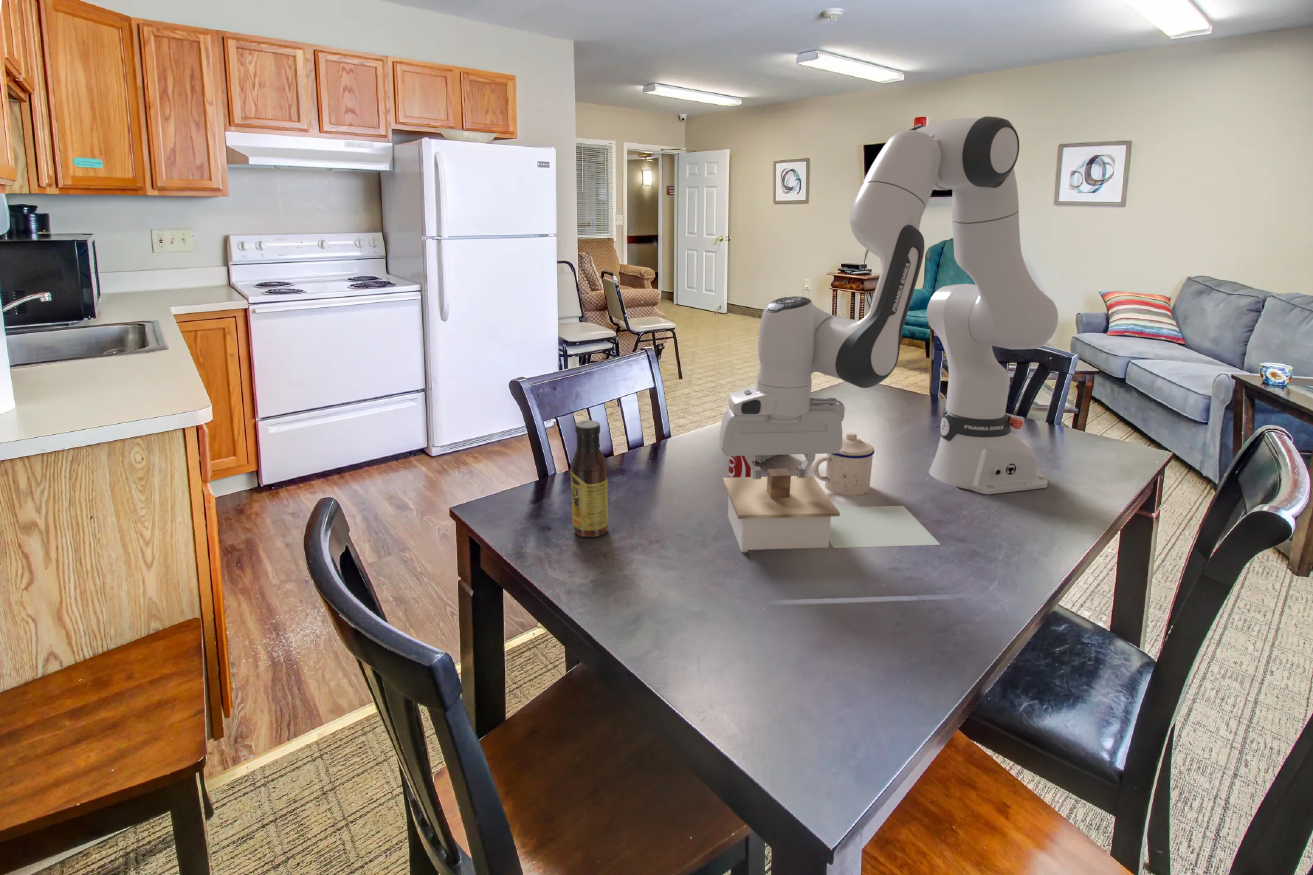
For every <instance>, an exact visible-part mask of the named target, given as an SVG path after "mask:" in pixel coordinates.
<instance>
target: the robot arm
mask: <svg viewBox="0 0 1313 875" xmlns="http://www.w3.org/2000/svg"><path fill="white" fill-rule="evenodd" d="M1019 154H1020V137H1019V135H1018V132H1017V130H1016V129H1015V127H1014V126H1013V124H1012V123H1011V121H1010V120H1008V119H1006V118H1003V117H998V116H982V117H980V118H979V117H978V118H977V117H967V118H965V117H964V118H953V119H949V120H946V121H941V122H937V123H931V124H928V125H918V126H914V127H911V128H910V129H907V130H901V131H899V132H897V133H895V134H893V135H892V136H891V137H890V138H889V139H888V140H886V143H885V144H884V145H883V146H882V148H881V150H880V151H879V152H878V154H877V156H876V158H875V159H874V161H873V162H872V164H871V166H870V168H869V169H868V172H867V173H866V175H865V177H864V179H863V182H862V183H861V185H860V188H859V190H858V192H857V194H856V196H855V199H854V201H853V203H852V206H851V209H850V213H849V214H850V215H849V225H850V229H851V232H852V233H853V235H854V237H855V239H856V241H858V243H859V244H860V245H861V246H862V247H864V248H865V249H866V250H868V251H869V252H870V253H872V254H873V255H875V256H876V257H878V258H879V261H880V265H881V268H880V269H881V270H880V274H879V278H878V281H877V284H876V287H875V290H874V294H873V297H872V300H871V305H870V307H869V311H868V313H867V314H866V316H864V317H863V318H862V319H860V320H858V319H857V320H856V319H851V318H846V317H842V316H838V315H832V313H828V312H826V311H824V310H822V309H820V308H819V307H817V306H816V305H815V304H814V303H813V301H812V300H811V299H810V298H808V297H805V296H785V297H780V298H776V299H773V300H771V301H770V302H769V303H767V304H766V305H765V307H764V309H763V312H762V313H761V314H762V315H761V318H760V321H759V322H760V324H759V329H758V331H759V332H758V338H757V339H758V342H757V358H758V361H759V368H758V372H757V376H756V384H754V385H752V386H751V385H750V386H749V387H745V388H742V389H740V390H737V391H732V392H731V393H730V394H728V395H727V396H728V397H727V401H728V407H729V408H728V409H726V411H725V412H724V414H723V416H722V420H721V425H720V432H719V448H720V451H721V452H722V453H723V454H724V455H725V456H727V457H729V456H745V458H746V460H747V462H748V464H749V466H750V467H751V478H752V479H753V480H755V479H761V477H762V476H761V475H762V469H761V467H760V466H754V464H753V462H752V461H755V456H756V455H775V456H776V455H777V456H781V455H782V456H783V455H786V456H787V455H788V456H789V455H803V456H804V457H805V459H804V460H803V461H802V463H801V465H796V468H795V470H796V473H795V476H797V477H798V478H807V476H808V470H809V469H810V467H811V466H812V465H813V464H814V463H815V461H816V455H817V454H818V455H821V454H822V455H827V454H833V453H838V452H839V451H840V450H841V448H842V440H843V439H842V438H843V426H842V422H843V421H844V420H845V410H846V408H845V404H844V403H843V402H842V401H841V400H837V398H835V397H828V398H824V397H823V398H820V397H811V396H812V384H813V382H812V381H813V380H812V374H813V373H820V374H822V375H824V376H828V377H832V378H835V379H840V380H842V381H843V382H846V383H848V384H851V385H853V386H856V387H858V388H861V389H868V388H869V389H870V388H873V387H875V386H877V385H879V384H880V383H882V382H883V381H885V380H886V379H888V377H889V376H890V375H891V374H892V373H893V372H894V370H895V368H896V366H897V364H898V361H899V356H900V349H901V339H902V335H903V330H904V326H905V322H906V320H907V316H908V313H909V309H910V307H911V302H912V299H913V296H914V292H915V288H916V285H917V281H918V279H919V275H920V272H921V271H920V270H921V266H922V264H923V259H924V254H925V239H924V235H923V234H922V232H921V231H920V227H921V221H922V217H923V215H924V212H925V211H926V208H927V205H928V203H929V201H930V198H931V196H932V193H933V191H935V190H936V191H949V190H951V191H952V196H951V197H952V198H951V222H952V240H953V241H952V243H953V255H954V256H953V257H954V260H955V263H956V265H957V266H958V267H959V268H961V269H962V271H964V272H965V273H966V274H967V275H968V276H969V277H970V278H971V280H972V281H973V282H974V284H972V283H959V284H950V285H944V286H941V287H940V288H938V289H937V290H936V291H934V293H933V294H932V296H931V297H930V299H929V302H928V304H927V307H926V318H927V323H928V325H929V326H930V328H931V329H932V330H933V331H934V333H935V334H937V337H938V338H939V340H940V342H941V344H942V347H943V349H944V352H945V356H946V362H947V367H948V368H947V369H948V379H947V380H948V381H947V382H948V383H947V392H946V402H945V407H944V408H943V410H942V413H941V414H942V415H941V421H940V430H939V433H940V434H939V435H940V438H939V442H938V445H937V449H936V453H935V457H934V458H933V461H932V463H931V465H930V468H929V469H928V474H929V475H930V476H931V477H933V479H935V480H937V481H940V482H941V483H945V484H947V485H951V486H954V487H956V488H960V489H966V490H970V491H973V492H976V493H979V494H983V495H993V494H1003V493H1011V492H1018V491H1019V492H1020V491H1021V492H1022V491H1030V490H1037V489H1038V490H1039V489H1046V488H1048V483H1049V482H1048V480H1047V478H1046V477H1045V476H1044V474H1042V473H1041V472H1039V471H1038V462H1037V456H1036V454H1035V452H1034V451H1033V450H1032V449H1031V448H1030V447H1029V446H1028V445H1027V444H1026V443H1024V442H1023V441H1022V440H1021V439H1020V438H1019V437H1018V436H1017V435H1015V434H1014V433H1013V432H1012V429H1011V427H1012V428H1013V429H1015V430H1021V429H1022V427H1024V421H1023V420H1022V419H1020V418H1018V417H1012V416H1011V415H1009V414H1008V413H1006V410H1007V404H1008V396H1009V391H1010V384H1011V379H1010V375H1009V373H1008V371H1007V369H1005V368H1004V366H1003V365H1001V364H1000V363H999V361H998V360H997V358H996V356H995V353H994V351H993V347H997V348H1001V349H1007V350H1034V349H1035V350H1036V349H1039V348H1041V347H1043V346H1044V345H1046V344H1047V342H1049V341H1050V340H1051V339H1052V337H1053V336H1054V334H1055V332H1056V330H1057V327H1058V323H1059V313H1058V308H1057V306H1056V303H1055V301H1054V300H1052V299H1051V298H1050V297H1049V296H1048V295H1046V293H1044V292H1043V291H1042V290H1041V288H1039V287H1038V285H1037V283H1036V282H1035V280H1034V279H1033V278H1032V276H1031V274H1030V272H1029V270H1028V268H1027V265H1026V263H1025V260H1024V257H1023V252H1022V247H1021V235H1020V208H1019V207H1020V206H1019V205H1020V204H1019V192H1018V191H1019V190H1018V183H1017V178H1016V173H1015V165H1016V163H1017V161H1018V158H1019ZM755 462H756V461H755Z"/></svg>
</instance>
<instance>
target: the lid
mask: <svg viewBox="0 0 1313 875" xmlns="http://www.w3.org/2000/svg"><path fill="white" fill-rule="evenodd" d="M722 482H723V484H724V486H725V489H726V492H727V494H728V495H727V496H729V497H730V499H731V502H732V504H733V507H734V509H735V512H736V514H737V517H738V519H755V518H793V517H830V516H840V512H839V511H838V510H837V508H836V505H834V502H833V501H832V500H831V499H830V498H829V496H828V495H827V493H826V492H825V491H824V489H823V488H822V487H821V485H820V484H819V483H818V481H817V480H816V478H815V476H814V475H807V478H798V477H797V476H796V475H791V474H790V472H789V470H788V469H787V468H768V469H767V476H761V479H755V480H753V479H752V478H751V477H733V478H728V477H723V478H722Z"/></svg>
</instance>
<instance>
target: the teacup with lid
mask: <svg viewBox="0 0 1313 875" xmlns="http://www.w3.org/2000/svg"><path fill="white" fill-rule="evenodd" d="M857 436H858V435H857V433H855V432H847V433H846V435H845V436H844V437H843V436H842V439H843V440H842V448H841V450H840V451H839V452H838V453H833V454H826V456H821V457H819V458H817V459H815V460H814V462H813V467H812V468H813V474H814V475H815V476H814V477H816V479H817V480H820V481H822V482H824V488H825V489H826V490H828V491H829V492H830V493H833V494H836V495H842V496H849V497H850V496H851V497H854V496H856V497H857V496H862V495H865V494H867V493H869V492H870V486H871V485H870V484H871V477H872V476H871V475H872V466H873V458H874V457H873V456H874V454H875V449H874V446H873V445H872V444H871V443H869V442H866V441H865V440H862V439H861V438H858V437H857ZM824 462H826V464H825V465H826V466H825V476H821V474H820V472H819V467H820V465H821V464H822V463H824Z"/></svg>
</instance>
